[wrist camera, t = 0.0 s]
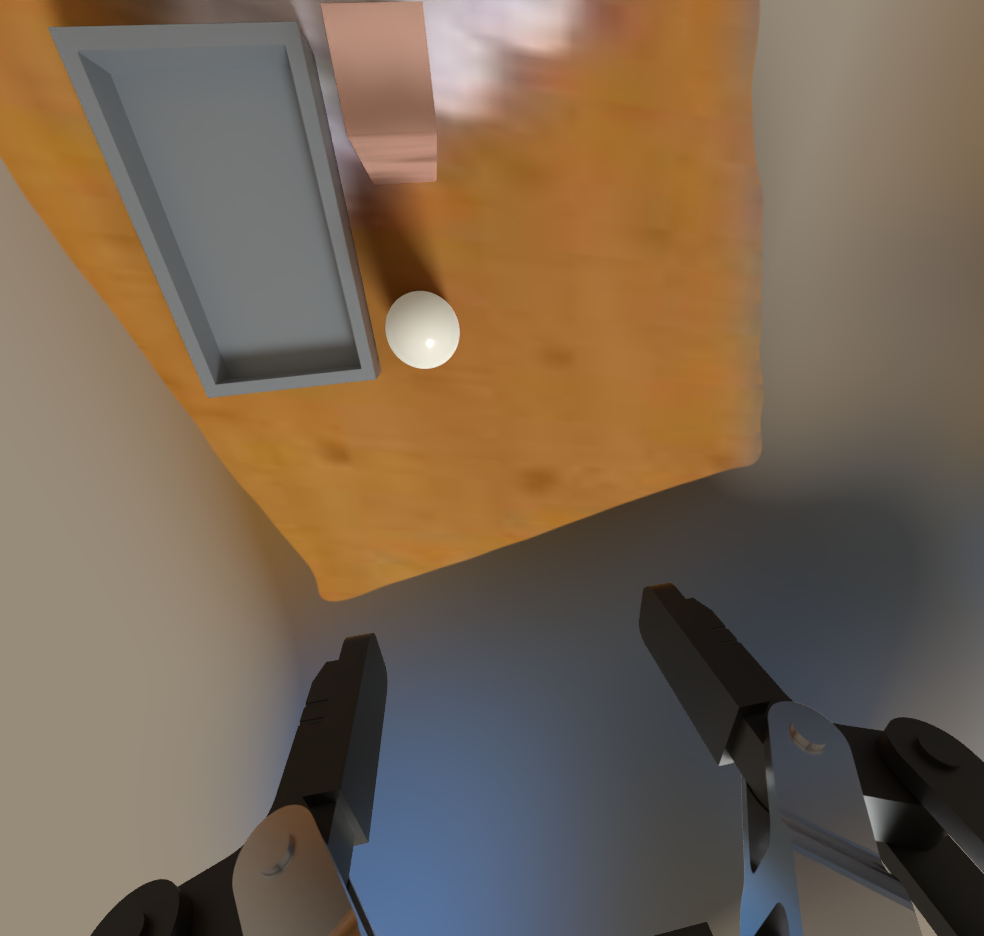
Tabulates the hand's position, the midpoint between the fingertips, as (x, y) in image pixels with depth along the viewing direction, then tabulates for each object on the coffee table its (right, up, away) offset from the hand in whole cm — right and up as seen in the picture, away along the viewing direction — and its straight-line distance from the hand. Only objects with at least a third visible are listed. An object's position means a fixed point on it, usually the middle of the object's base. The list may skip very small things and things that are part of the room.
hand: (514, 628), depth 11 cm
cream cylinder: (-7, +18, +23) cm, 30 cm away
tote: (-19, +23, +19) cm, 35 cm away
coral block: (-8, +30, +17) cm, 36 cm away
